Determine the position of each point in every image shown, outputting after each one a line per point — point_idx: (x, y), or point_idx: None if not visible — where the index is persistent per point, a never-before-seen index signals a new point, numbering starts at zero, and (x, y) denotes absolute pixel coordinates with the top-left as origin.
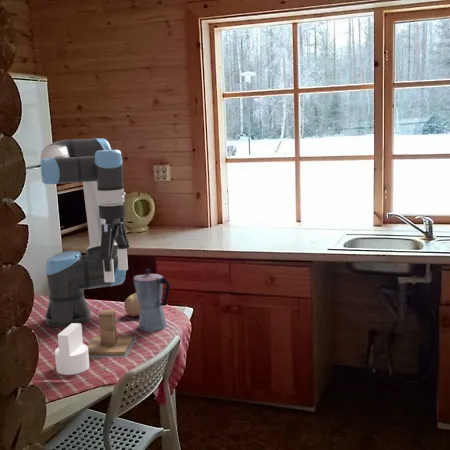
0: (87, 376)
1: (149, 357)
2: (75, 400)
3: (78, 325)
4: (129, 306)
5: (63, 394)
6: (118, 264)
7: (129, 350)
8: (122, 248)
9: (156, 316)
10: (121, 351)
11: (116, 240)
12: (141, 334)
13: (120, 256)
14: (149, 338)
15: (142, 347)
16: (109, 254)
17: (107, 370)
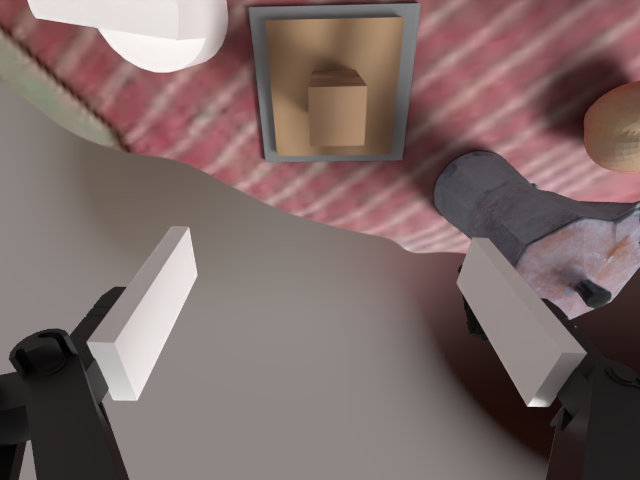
0: (147, 75)
1: (281, 209)
2: (20, 83)
3: (154, 31)
4: (607, 112)
5: (30, 35)
6: (488, 261)
7: (307, 159)
8: (565, 385)
9: (456, 224)
10: (278, 146)
11: (577, 475)
12: (430, 164)
13: (512, 318)
14: (398, 190)
15: (339, 183)
16: (8, 464)
17: (194, 123)
